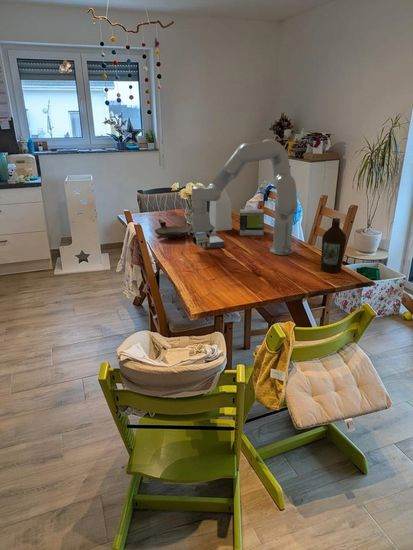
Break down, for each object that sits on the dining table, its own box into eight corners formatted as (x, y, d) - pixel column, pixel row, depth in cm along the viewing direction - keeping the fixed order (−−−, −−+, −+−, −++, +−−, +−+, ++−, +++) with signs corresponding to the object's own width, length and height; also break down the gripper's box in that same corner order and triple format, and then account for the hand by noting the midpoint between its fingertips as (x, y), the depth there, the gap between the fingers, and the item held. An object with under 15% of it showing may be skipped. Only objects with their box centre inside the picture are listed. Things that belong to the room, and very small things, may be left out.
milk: (224, 225, 269) (225, 186, 259) (231, 229, 259) (232, 189, 249) (208, 227, 265) (208, 188, 255) (215, 231, 255) (215, 191, 245)
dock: (224, 246, 224) (224, 238, 222) (204, 248, 221) (204, 240, 219) (215, 239, 237) (215, 231, 235) (196, 241, 233) (196, 233, 231)
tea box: (263, 231, 253) (264, 208, 247) (263, 235, 244) (264, 212, 238) (239, 231, 254) (240, 208, 249) (239, 235, 245) (239, 212, 240)
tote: (206, 238, 211) (206, 234, 210) (198, 239, 209) (198, 235, 208) (203, 235, 216) (202, 231, 215) (195, 236, 215) (195, 232, 214)
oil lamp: (157, 243, 230) (156, 231, 228) (153, 230, 258) (152, 219, 255) (194, 241, 235) (194, 228, 232) (186, 228, 262) (186, 217, 259)
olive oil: (322, 264, 195) (327, 215, 186) (344, 268, 190) (350, 217, 181) (316, 271, 186) (321, 220, 177) (339, 275, 182) (346, 222, 172)
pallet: (210, 246, 210) (209, 238, 209) (198, 247, 208) (198, 240, 207) (204, 241, 219) (203, 234, 218) (192, 242, 217) (192, 235, 216)
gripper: (186, 213, 201) (187, 246, 208) (217, 209, 206) (218, 242, 213) (182, 210, 208) (184, 243, 214) (212, 207, 213) (213, 239, 219)
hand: (201, 242), depth 213 cm, fingers closed on pallet, 6 cm apart
